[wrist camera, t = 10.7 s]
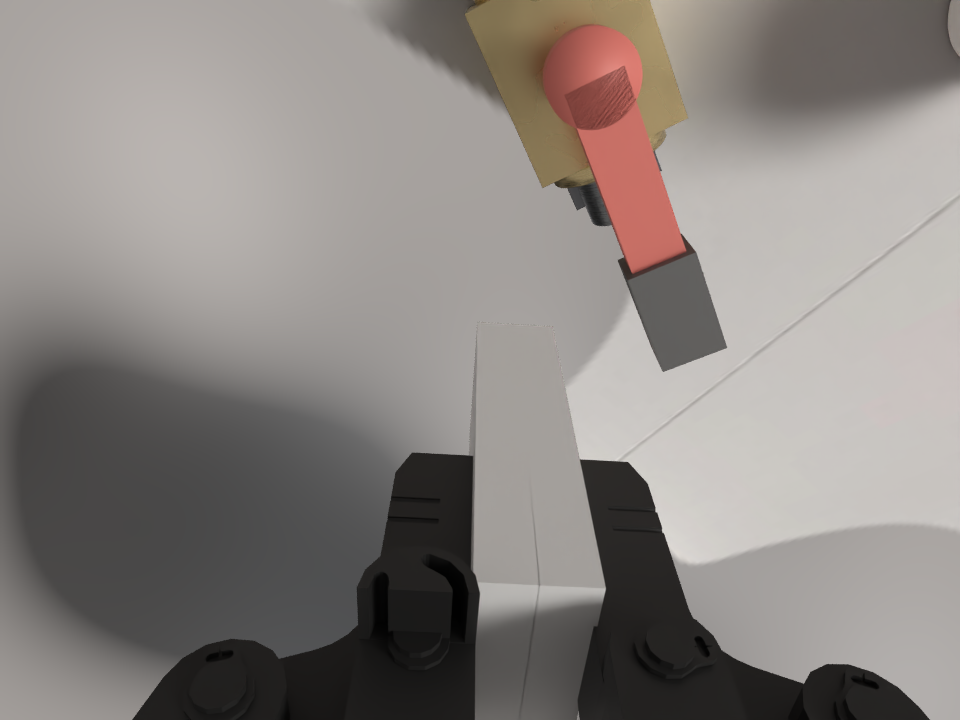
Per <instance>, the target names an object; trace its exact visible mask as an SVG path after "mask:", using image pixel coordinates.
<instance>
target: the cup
mask: <svg viewBox="0 0 960 720" xmlns="http://www.w3.org/2000/svg"><path fill="white" fill-rule="evenodd" d="M948 32H949V38H950V41H951V44H952V46H953V48H954V50H955V51H956V53H957V54H958V55H959V57H960V0H951V2H950V7H949V12H948Z"/></svg>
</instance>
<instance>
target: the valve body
mask: <svg viewBox="0 0 960 720" xmlns="http://www.w3.org/2000/svg"><path fill="white" fill-rule="evenodd" d="M474 1H475V4H476V5H474V6H472V7H470V8H468V10H467V11H466V13H465V16H466V19H467V21H468V23H469V25H470V28H471V30H472V32H473V34H474V36H475V39H476V41H477V43H478V45H479V48H480V50H481V52H482V54H483V56H484V59H485V61H486V63H487V65H488V68H489V70H490V72H491V74H492V77H493V79H494V81H495V83H496V85H497V88H498V90H499V92H500V94H501V97H502V99H503V101H504V103H505V105H506V108H507V110H508V112H509V114H510V117H511V119H512V121H513V123H514V125H515V128H516V130H517V132H518V134H519V137H520V139H521V141H522V143H523V145H524V148H525V150H526V152H527V154H528V157H529V159H530V161H531V163H532V165H533V168H534V170H535V172H536V174H537V177H538V178H539V181H540V183H541V185H542V187H543V188H544V187H546V186H548V185H550V184H552V183H555V185H556V186H557V187H560V188H568V191H569V193H570V195H571V198H572V200H573V202H574V205H575V207H576V209H577V210H579V209H581V208H583V207H585V206H586V209H587V211H588V213H589V216H590V218H591V220H592V222H593V224H595V225H597V226H609V225H612V224H611V221H610V219H609V216H608V214H607V211H606V208H605V206H604V203H603V200H602V198H601V195H600V193H599V190H598V187H597V185H596V182H595V180H594V177H593V174H592V172H591V169H590V166H589V164H588V161H587V159H586V156H585V153H584V151H583V148H582V146H581V143H580V140H579V138H578V135H577V132H576V130H575V128H574V127H572V126H570V125H568V124H567V123H565V122H564V121H563V120H562V119H560V118H559V117H558V115H557V114H556V113H555V112H554V110H553V108H552V107H551V105H550V103H549V101H548V99H547V97H546V95H545V91H544V87H543V78H542V77H543V67H544V63H545V60H546V57H547V55H548V53H549V51H550V49H551V47H552V46H553V45H554V43H555V42H556V41H557V40H558V39H559V38H560V37H561V36H562V35H563V34H565V33H566V32H567V31H569V30H571V29H573V28H575V27H578V26H581V25H587V24H597V25H603V26H606V27H609V28H611V29H614V30H616V31H618V32H620V33H622V34H623V35H625V36H626V37H627V38H628V39H629V40H630V41H631V42H632V43H633V45H634V46H635V48H636V50H637V51H638V54H639V56H640V59H641V63H642V71H643V77H642V85H641V89H640V92H639V95H638V98H637V100H636V101H637V104H638V107H639V110H640V113H641V116H642V119H643V122H644V125H645V128H646V131H647V134H648V137H649V140H650V143H651V146H652V149H653V152H654V155H655V158H656V161H657V164H658V167H659V170H660V171H662V170H661V167H660V165H659V162H658V159H657V156H656V153H655V151H654V150H656V149H657V148H658V147H659V146H660V145H661V144H662V142H663V141H664V140H665V138H666V132H665V129H666V128H668V127H670V126H672V125H675V124H677V123H679V122H681V121H683V120H685V119H687V118H688V117H687V114H686V111H685V108H684V104H683V101H682V98H681V95H680V92H679V89H678V86H677V83H676V80H675V77H674V74H673V71H672V68H671V65H670V61H669V58H668V55H667V52H666V49H665V46H664V43H663V40H662V37H661V34H660V31H659V28H658V25H657V22H656V18H655V15H654V12H653V9H652V6H651V3H650V0H474Z"/></svg>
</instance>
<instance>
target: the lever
mask: <svg viewBox="0 0 960 720" xmlns="http://www.w3.org/2000/svg"><path fill="white" fill-rule="evenodd" d="M642 77H643V71H642V63H641V59H640V56H639V54H638V51H637V50H636V48H635V46H634V45H633V43H632V42H631V41H630V40H629V39H628V38H627V37H626V36H625V35H623V34H622V33H620V32H618V31H616V30H614V29H611V28H609V27H606V26H603V25H597V24H587V25H581V26H578V27H575V28H573V29H571V30H569V31H567V32H566V33H565V34H563V35H562V36H561V37H560V38H559V39H558V40H557V41H556V42H555V43H554V45H553V46H552V47H551V49H550V51H549V53H548V55H547V57H546V60H545V63H544V67H543V77H542V78H543V87H544V91H545V95H546V97H547V99H548V101H549V103H550V105H551V107H552V108H553V110H554V112H555V113H556V114H557V115H558V117H559V118H560V119H562V120H563V121H564V122H565V123H567V124H568V125H570V126H572V127H574V128H575V130H576V132H577V135H578V138H579V140H580V143H581V146H582V148H583V151H584V153H585V156H586V159H587V161H588V164H589V166H590V169H591V172H592V174H593V177H594V180H595V182H596V185H597V187H598V190H599V193H600V195H601V198H602V200H603V203H604V206H605V208H606V211H607V214H608V216H609V219H610V221H611V224H612V227H613V229H614V232H615V234H616V237H617V240H618V242H619V245H620V247H621V250H622V253H623V255H624V258H622V259H619V260H618V262H619V265H620V267H621V270H622V272H623V275H624V278H625V280H626V282H627V285H628V288H629V291H630V293H631V296H632V298H633V301H634V303H635V306H636V309H637V311H638V314H639V316H640V319H641V321H642V324H643V327H644V329H645V332H646V334H647V337H648V340H649V342H650V345H651V347H652V349H653V352H654V354H655V356H656V358H657V360H658V362H659V365H660V367H661V369H662V371H663V372H664V371H667V370H670V369H672V368H675V367H678V366H680V365H683V364H686V363H688V362H691V361H693V360H696V359H699V358H701V357H704V356H707V355H709V354H712V353H715V352H717V351H720V350H723V349H725V348H727V346H726V343H725V340H724V337H723V334H722V330H721V327H720V324H719V321H718V318H717V315H716V312H715V309H714V306H713V303H712V300H711V297H710V294H709V290H708V287H707V284H706V281H705V278H704V275H703V272H702V269H701V266H700V263H699V260H698V257H697V254H696V252H695V250H694V249H693V248H692V246H691V245H690V244H689V243H688V241H687V240H686V239H685V238H684V236H683V235H682V234H680V231H679V228H678V225H677V222H676V219H675V216H674V213H673V210H672V207H671V203H670V200H669V197H668V194H667V191H666V188H665V185H664V182H663V179H662V176H661V173H660V170H659V167H658V164H657V161H656V158H655V155H654V152H653V149H652V146H651V143H650V140H649V137H648V134H647V131H646V128H645V125H644V122H643V119H642V116H641V113H640V110H639V107H638V104H637V101H636V100H637V98H638V95H639V92H640V89H641V85H642Z"/></svg>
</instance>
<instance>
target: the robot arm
mask: <svg viewBox="0 0 960 720" xmlns="http://www.w3.org/2000/svg"><path fill="white" fill-rule="evenodd" d="M357 604H358V626H357V627H355V628H354V629H353V630H352V631H351V632H350V633H349V634H348V635H346V636H344V637H343V638H341V639H340V640H338V641H336V642H334V643H333V644H330V645H327V646H325V647H322V648H319V649H316V650H313V651H309V652H305V653H301V654H297V655H293V656H289V657H285V658H281V659H278V657H277V656H276V654H275V653H274V652H273V650H271V649H269V648H267V647H265V646H263V645H261V644H259V643H257V642H255V641H250V640H238V639H229V640H225V641H220V642H216V643H212V644H208V645H205V646H203V647H202V648H200V649H198V650H196V651H195V652H193V653H191V654H189V655H187V656H186V657H184V658H182V659H181V660H180V661H179V663H177V665H176V666H175V667H173V668H172V669H171V670H170V671H169V672H168V673H167V674H166V675H165V676H164V677H163V679H162V680H161V682H160V683H159V684H158V686H157V687H156V688H155V690H154V691H153V692H152V694H151V695H150V696H149V698H148V699H147V701H146V702H145V703H144V705H143V706H142V707H141V709H140V710H139V711H138V713H137V714H136V715H135V717H134V718H133V720H577V715H578V711H579V717H580V720H930V719H929V718H928V717H927V716H926V715H925V714H924V712H923V711H922V710H921V709H920V708H919V707H918V706H917V705H916V704H915V703H914V702H913V701H912V700H911V699H910V698H909V697H908V696H907V695H905V693H903V692H902V691H901V690H900V689H899V688H898V687H897V686H895V685H893V684H892V683H890V682H888V681H887V680H885V679H883V678H882V677H880V676H878V675H877V674H875V673H873V672H870V671H867V670H864V669H861V668H857V667H855V666H852V665H848V664H847V665H845V664H826V665H824V666H822V667H820V668H818V669H816V670H814V671H812V672H810V674H809V676H808V678H807V679H806V681H805V683H804V684H803V683H800V682H797V681H794V680H791V679H788V678H785V677H781V676H779V675H776V674H773V673H770V672H767V671H763V670H760V669H758V668H755V667H752V666H750V665H747V664H745V663H743V662H740V661H738V660H736V659H734V658H733V657H731V656H729V655H728V654H726V653H725V652H723V651H722V650H721V648H720V646H719V645H718V643H717V641H716V640H715V638H714V636H713V635H712V634H711V633H710V632H709V631H708V630H706V629H705V628H704V627H703V626H702V625H701V624H700V623H699V622H697V620H695V619H693V617H692V615H691V613H690V611H689V609H688V605H687V603H686V599H685V596H684V593H683V590H682V587H681V584H680V581H679V578H678V575H677V572H676V569H675V566H674V563H673V560H672V557H671V554H670V551H669V548H668V544H667V541H666V538H665V535H664V533H662V526H661V523H660V520H659V517H658V514H657V513H656V512H655V505H654V502H653V499H652V496H651V493H650V490H649V487H648V484H647V482H646V481H645V480H644V479H643V478H642V477H641V476H640V475H639V474H638V473H637V471H636V470H635V469H634V468H633V467H632V466H631V465H630V464H629V463H628V462H617V461H598V460H580V458H579V453H578V448H577V443H576V439H575V434H574V429H573V424H572V419H571V414H570V409H569V404H568V399H567V394H566V389H565V384H564V379H563V374H562V370H561V365H560V360H559V355H558V350H557V345H556V340H555V335H554V330H553V327H551V326H536V325H519V324H502V323H485V322H478V323H477V337H476V353H475V366H474V380H473V396H472V410H471V424H470V444H469V456H466V455H448V454H429V453H412V454H411V455H410V456H409V457H408V458H407V459H406V461H405V462H404V463H403V464H402V465H401V467H400V468H399V469H398V470H397V471H396V473H395V479H394V484H393V491H392V496H391V501H390V507H389V512H388V520H387V523H386V529H385V535H384V540H383V547H382V551H381V556H380V557H379V558H378V559H377V560H376V561H375V562H373V563H372V564H371V565H370V566H369V567H368V568H367V569H366V570H365V571H364V573H363V576H362V578H361V580H360V582H359V584H358V586H357Z"/></svg>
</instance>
